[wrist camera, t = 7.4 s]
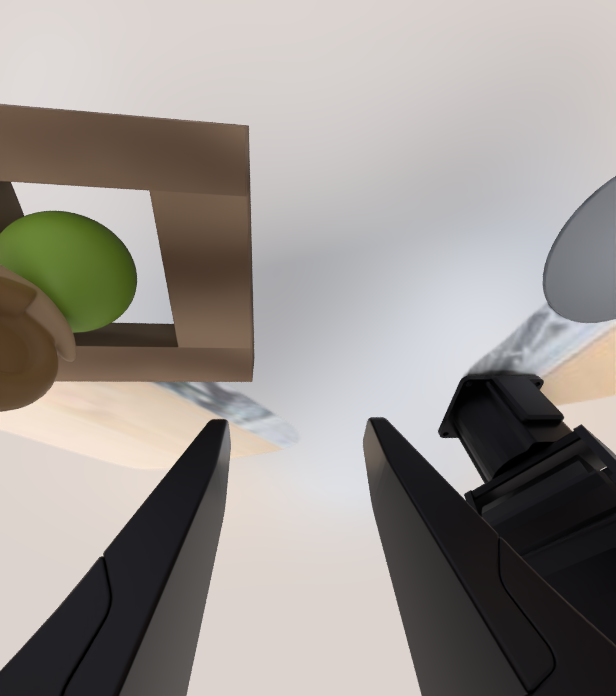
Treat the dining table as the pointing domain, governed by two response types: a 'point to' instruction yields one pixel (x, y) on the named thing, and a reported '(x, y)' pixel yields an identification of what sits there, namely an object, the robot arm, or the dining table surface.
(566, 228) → the coaster
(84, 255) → the snail figurine
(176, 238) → the block
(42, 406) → the dining table surface
